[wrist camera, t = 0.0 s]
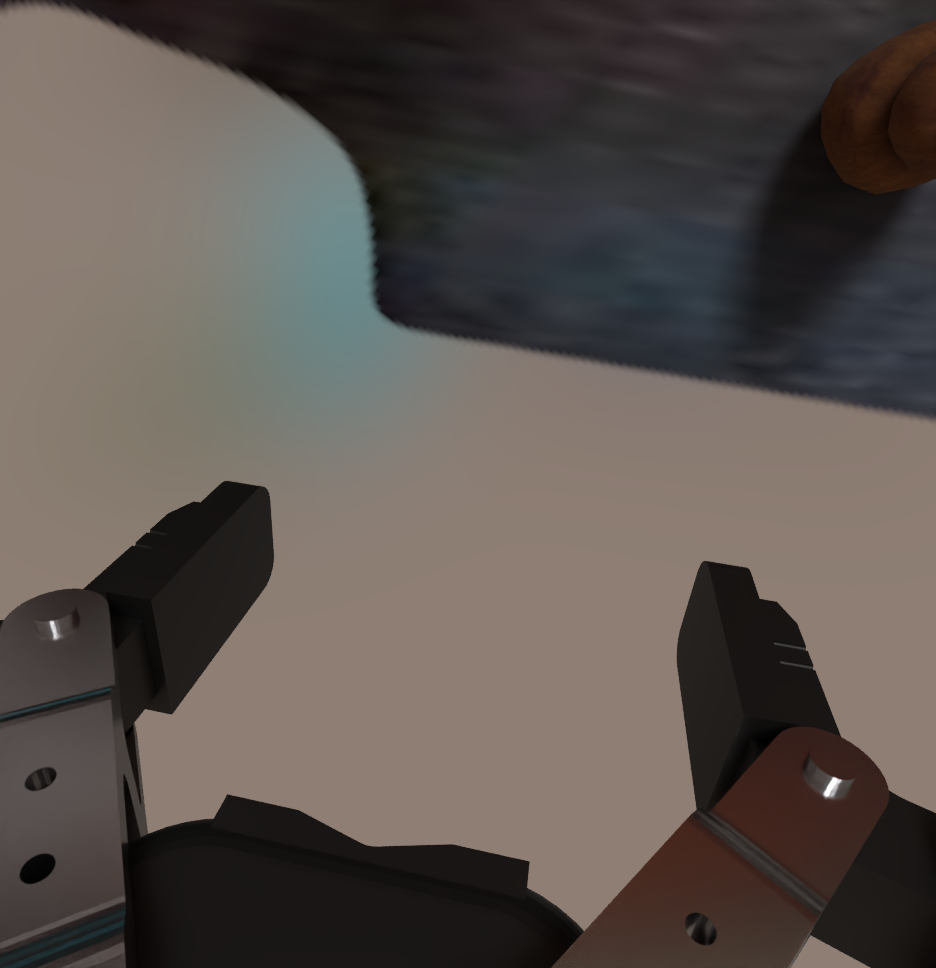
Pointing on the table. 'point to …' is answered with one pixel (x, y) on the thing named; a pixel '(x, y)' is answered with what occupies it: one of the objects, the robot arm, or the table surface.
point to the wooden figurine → (885, 115)
